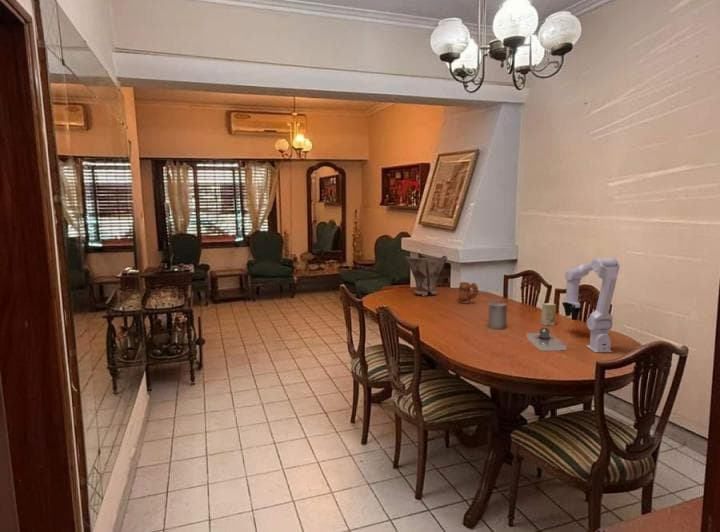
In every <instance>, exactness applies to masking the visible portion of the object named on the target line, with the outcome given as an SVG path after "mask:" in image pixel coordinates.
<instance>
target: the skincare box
mask: <svg viewBox="0 0 720 532" xmlns="http://www.w3.org/2000/svg"><path fill="white" fill-rule="evenodd" d="M556 311H557V304H556V303H553V302H546V303H542V307H541V319H540V320H541V322H540V324H541V325H543V326H545V327H546V326H548V325H549V326H555V325H556ZM549 326H548V327H549Z"/></svg>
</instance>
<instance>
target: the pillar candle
mask: <svg viewBox="0 0 720 532" xmlns="http://www.w3.org/2000/svg"><path fill="white" fill-rule="evenodd" d="M507 310H508V307H507V303H506V302H503V301H490V302H489V303H488V328H490V329H493V330H505V329H507V313H508V312H507Z"/></svg>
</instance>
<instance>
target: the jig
mask: <svg viewBox="0 0 720 532" xmlns="http://www.w3.org/2000/svg"><path fill="white" fill-rule="evenodd" d="M526 338H527V340H528V341H529V342H530V343H531V344H533V346H535V347H536V348H537V349H538V350H539V351H540V352H541V351H542V352H544V351H545V352H546V351H552V352H553V351H559V352H560V351H561V350H566V351H567V345H566V344H565V343H564V342H562V340H561V339H558V338H557V337H556V336H555V335H554V334H552V333H551V332H549V339H548V340H544V339H540V332H528V333H526Z"/></svg>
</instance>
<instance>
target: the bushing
mask: <svg viewBox="0 0 720 532" xmlns="http://www.w3.org/2000/svg"><path fill="white" fill-rule="evenodd" d="M539 333H540V339H544V340H548V339H549V333H550V328H547V327H540V328H539Z"/></svg>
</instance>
